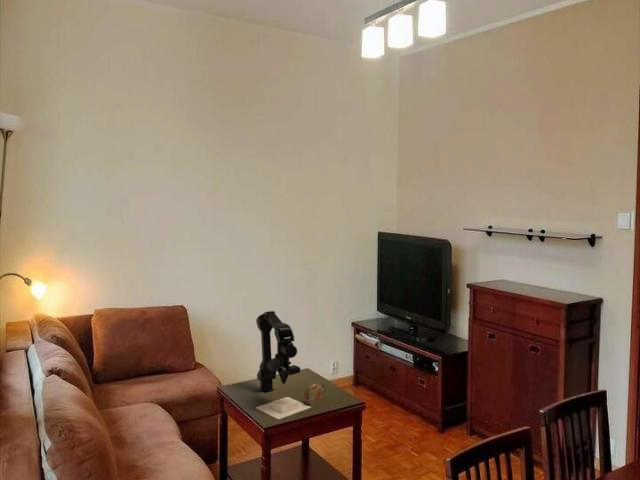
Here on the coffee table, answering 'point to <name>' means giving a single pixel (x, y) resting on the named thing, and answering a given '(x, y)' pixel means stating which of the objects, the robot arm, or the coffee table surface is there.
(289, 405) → the tile
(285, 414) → the felt mat
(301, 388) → the coffee table surface
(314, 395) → the tin
